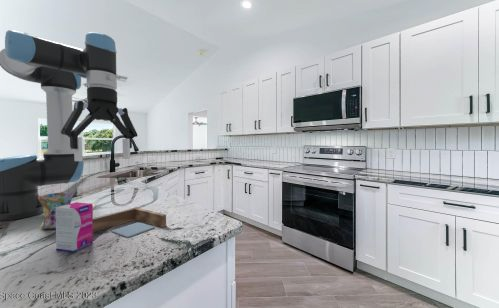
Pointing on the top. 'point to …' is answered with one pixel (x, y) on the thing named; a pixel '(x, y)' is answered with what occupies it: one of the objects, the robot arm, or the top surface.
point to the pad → (132, 229)
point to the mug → (53, 207)
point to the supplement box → (74, 226)
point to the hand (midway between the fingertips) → (104, 159)
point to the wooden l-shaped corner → (129, 218)
